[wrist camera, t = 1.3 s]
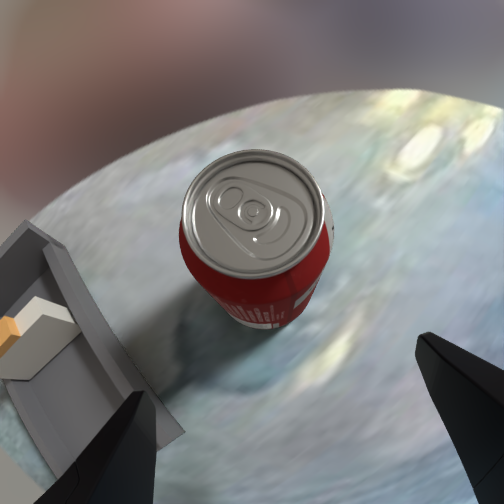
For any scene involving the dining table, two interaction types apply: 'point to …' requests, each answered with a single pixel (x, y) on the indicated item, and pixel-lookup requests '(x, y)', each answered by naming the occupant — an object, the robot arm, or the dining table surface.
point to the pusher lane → (68, 355)
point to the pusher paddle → (34, 338)
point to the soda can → (256, 235)
